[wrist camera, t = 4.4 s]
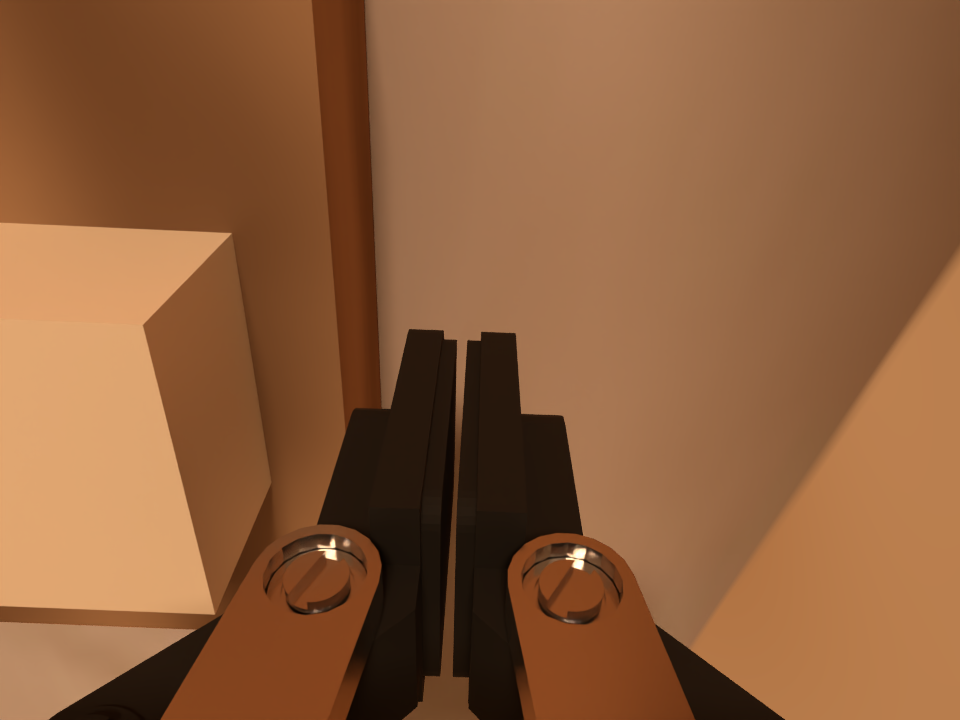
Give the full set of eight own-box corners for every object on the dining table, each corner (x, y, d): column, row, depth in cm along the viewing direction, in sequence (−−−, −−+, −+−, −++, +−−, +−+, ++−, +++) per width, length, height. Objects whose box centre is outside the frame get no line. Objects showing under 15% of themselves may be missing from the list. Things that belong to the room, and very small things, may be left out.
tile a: (231, 233, 10) (143, 324, 7) (271, 482, 13) (215, 614, 10) (-98, 218, 10) (-302, 305, 7) (8, 471, 13) (-115, 601, 10)
